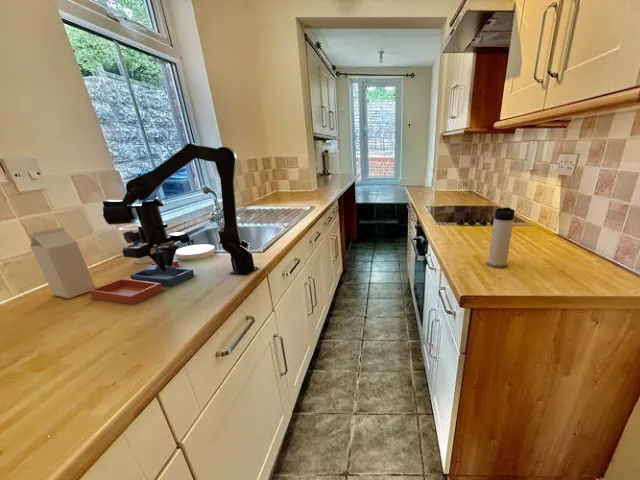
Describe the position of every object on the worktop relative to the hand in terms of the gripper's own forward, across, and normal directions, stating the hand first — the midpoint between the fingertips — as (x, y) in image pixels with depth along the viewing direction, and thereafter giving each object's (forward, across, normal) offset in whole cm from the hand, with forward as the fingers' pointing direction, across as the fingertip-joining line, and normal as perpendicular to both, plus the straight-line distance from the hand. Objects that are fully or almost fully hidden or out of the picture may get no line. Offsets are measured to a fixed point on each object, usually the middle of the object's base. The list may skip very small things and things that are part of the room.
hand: (166, 270), depth 102 cm
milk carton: (+4, +15, -19) cm, 25 cm away
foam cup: (+4, -13, -25) cm, 29 cm away
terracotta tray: (+3, +12, -2) cm, 13 cm away
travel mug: (+4, -42, +104) cm, 112 cm away
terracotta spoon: (+3, -10, -12) cm, 16 cm away
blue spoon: (+1, 0, -2) cm, 2 cm away
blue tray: (+3, 0, -2) cm, 4 cm away
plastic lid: (+4, -23, -11) cm, 26 cm away
